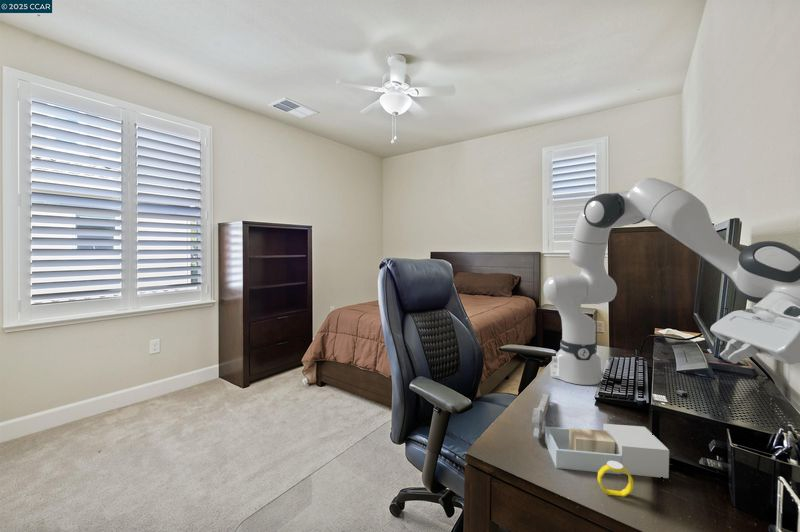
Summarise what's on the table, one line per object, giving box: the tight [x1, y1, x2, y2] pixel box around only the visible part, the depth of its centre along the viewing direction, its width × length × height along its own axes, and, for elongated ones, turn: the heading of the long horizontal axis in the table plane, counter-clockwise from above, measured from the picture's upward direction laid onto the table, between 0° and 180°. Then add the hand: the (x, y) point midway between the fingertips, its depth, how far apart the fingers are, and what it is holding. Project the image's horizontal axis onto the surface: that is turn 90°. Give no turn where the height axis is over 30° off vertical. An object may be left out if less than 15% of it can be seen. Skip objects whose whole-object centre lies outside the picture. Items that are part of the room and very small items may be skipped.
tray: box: [544, 426, 622, 475], centre depth 81 cm, size 11×13×4 cm
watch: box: [596, 461, 635, 498], centre depth 69 cm, size 6×3×6 cm, turn 78°
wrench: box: [531, 393, 551, 439], centre depth 98 cm, size 8×2×30 cm
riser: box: [602, 423, 670, 479], centre depth 79 cm, size 10×9×6 cm
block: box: [568, 427, 615, 454], centre depth 81 cm, size 5×5×8 cm
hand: (726, 359), depth 76 cm, fingers closed
